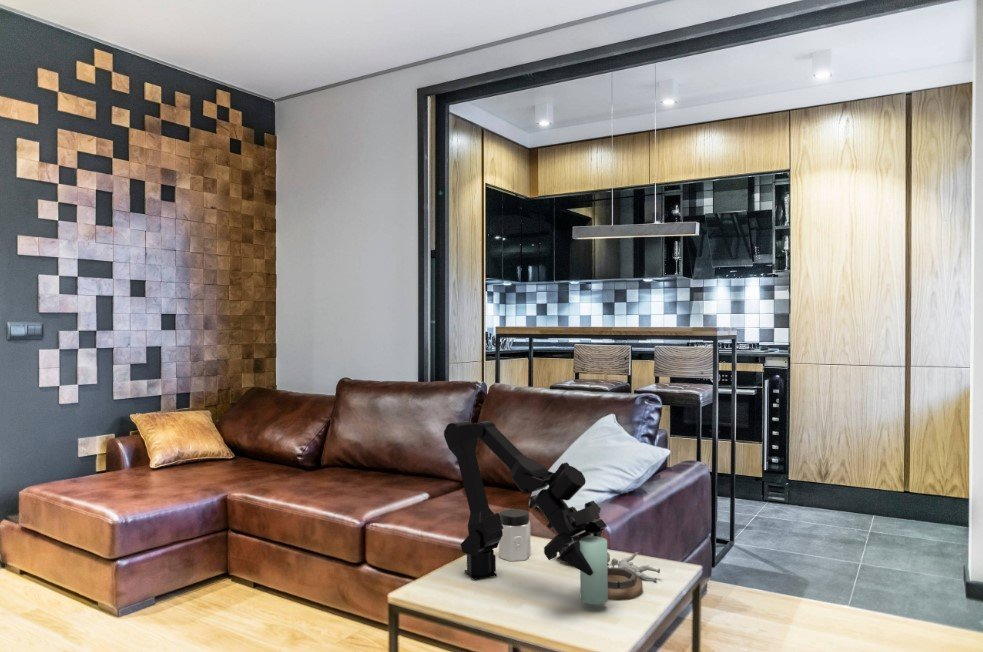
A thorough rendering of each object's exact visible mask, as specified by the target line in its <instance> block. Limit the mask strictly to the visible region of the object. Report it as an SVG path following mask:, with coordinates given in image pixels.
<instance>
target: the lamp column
mask: <svg viewBox="0 0 983 652" xmlns="http://www.w3.org/2000/svg"><path fill="white" fill-rule="evenodd" d="M580 551H581V553H582V554H583V556H584V557H585V559H586V561H587V562H588V564H589V565H590V567H591V569H592V571H593V574H592V575H591V576H589V575H587V574H586V573H584V572H582V571H580V570H579V572H580V573H579V574H580V575H579V576H580V580H579V581H580V582H579V583H580V584H579V585H580V587H579V588H580V589H579V590H580V600H581V602H583V603H584V604H588V605H603V604H605V603H607V602H608V601H609V600H608V570H607V567H608V566H607V552H608V540H607V538H604V537H603V536H601V537H596V536H588V537H583V538H581V539H580Z"/></svg>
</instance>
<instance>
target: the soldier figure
mask: <svg viewBox="0 0 983 652" xmlns="http://www.w3.org/2000/svg"><path fill="white" fill-rule="evenodd" d="M638 554H639V552H638V551H637V552H634V553H633V554H632V555H631V556H628V557H626V558H622V559H621V560H619V559H617V558H614V557H612V559H611V561H610V564H611V567H615V566H617V568H624V569H625V570H626V569H628V570H630V571H632V572H634V573H636V575H637V577H638V578H640V579H641V580H642V579H643V580H648V581H649V580H650V581H653V582H657V577H652V576H649V575H647V574H645V573H643V572H646V571H650V572H656V573H657V574H660V573H661V569H660V568H655V567H652V566H650V565H649V564H647V565H646V564H643V565H640V566H637V565H636V564H634V563H633V562H631V561H633V560H634V559H635V558H636V557H637V555H638Z"/></svg>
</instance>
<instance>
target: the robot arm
mask: <svg viewBox="0 0 983 652" xmlns="http://www.w3.org/2000/svg"><path fill="white" fill-rule="evenodd" d="M443 436H444V440H445V442H446V444H447V447H448V449H449V451H451V453H452V454H453V455H454V456H455V457H456V461H457V463H458V467H459V472H460V475H461V477H460V478H461V480H462V484H463V489H464V493H465V496H466V500H467V504H468V509H469V513H470V514H469V519H468V523H467V531H468V535H467V536H466V537H465V539H464V540H463V541H462V542H461V543H460V549H461V552H462V553H463V554H465V555H466V569H465V570H464V574H466V575H467V576H468V577H469V578H470V579H471V580H473V581H477V580H481V579H482V580H483V579H488V578H494V577H497V575H498V574H497V573H496V566H497V563H496V560H497V559H496V556H497V555H495V554H494V552H495V551H494V549H497V548H499V541H500V540H501V537H502V536H503V532H502V529H504V528H503V526H502V524H501V519H500V512H499V513H498V512H497V513H494V512H493V510H492V509H491V508H490V506H489V502H488V498H487V494H486V491H485V486H484V483H483V479H482V474H481V470H480V466H479V462H478V458H477V454H476V452H477V447H478V443H479V439H480V440H481V441H482V442H483V444H484V445H485V446H486V447H488V449H489V450H491V452H492V453H493V454H494V456H496V457H497V458H498V459H499V460H500V461H501V462H502V463H503V464H504V466H506V467H507V468H508V470H509V471H510V474H511V479H512V480H513V482H514V483H515V484H516V486H517V487H518V489H519V490H520V491H521V492H522V493H524V494H530V493H533V492H537V491H539V492H538V493H537V494H535V495H532V496H529V504H528V508H529V509H530V510H532V509H534V508H537V507H538V509H539V511H540V512H541V513H542V514H543V515H544V518H545V519H546V520H547V522H548V524H547V525H546V527H547V528H548V529H549V530H551V529H553V530H554V532H555V533H556V534H557V535H555V536H554V537H553V538H552V539H551V540H550V541H549V542H548V543H547V544H546V545H545V546H543V554H544V555H545V558H547V560H548V561H552V560H553V559H555V558H556V560H558V561H562V562H564V563H566V564H568V565H569V566H572V567H574V568H575V569H577V570H579V572H580V571H582V572H584V573H586V574H587V575H589V576H591V575H592V574H593V571H592V569H591V567H590V565H589V564H588V562H587V561H586V559H585V557H584V556H583V554H582V553H581V551H580V542H579V541H580V539H581V538H583V537H588V536H596V537H602V534H603V531H604V530H605V529H606V528H607V524H606V523H605V521H604V520H603V519H602V518H601V516H600V513H601V506H599V505H598V504H597V503H596V501H594V500H591V501H587V502H585V503H584V508H581V509H580V510H577V508H576V507H574V506H570V507H569V506H568V505H567V503H566V501H569V500H571V499H572V498H573V497H574V496H575V495H576V494H577V493H578V492H579V491H580V490H581V489H582V488H583V487H584V486H585V484H586V477H585V475H584V473H582V471H580V470H579V469H577V468H576V467H574V466H573V465H570V464H569V463H568V462H563V463H561V464H560V465H559V466H558V467H557V470H555V472H553V471H550V470H548V469H547V468H546V467H545V466H544V465H542V464H541V463H539V462H538V461H537V460H536V459H532V458H530V457H528V456H526V455H524V453H522V452H521V451H520V450H519V449H518V448H517V446H515V445H514V444H513V443H512V442H511V441H510V440H509V439H508V438H507V437H506V436H505V435H504V434H503V433H502V432H501V431H500V430H499V429H498V428H497V426H496V425H495V423H494V422H493V421H491V420H486V421H479V422H476V423H473V422H472V421H470V420H463V421H455V422H450V423H448V424H447V425H446V426H445V429H444V430H443ZM547 486H548V487H547ZM559 554H560V555H559ZM558 555H559V556H558ZM607 567H609V562H608V563H607Z"/></svg>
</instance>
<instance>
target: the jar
mask: <svg viewBox="0 0 983 652" xmlns="http://www.w3.org/2000/svg"><path fill="white" fill-rule="evenodd" d="M499 515H500V519H501V524H502V526H503V528H504V529H502V532H503V536H502V537H501V540H500V541H499V544H498V557H499V559H502V560H505V561H508V562H519V561H527V560H528V559H529V558H530V556H531V552H532V551H531V548H532V547H531V521H530V512H529V511H528V510H524V509H519V508H515V509H514V508H512V509H511V508H510V509H504V510H501V511H500V512H499Z"/></svg>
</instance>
